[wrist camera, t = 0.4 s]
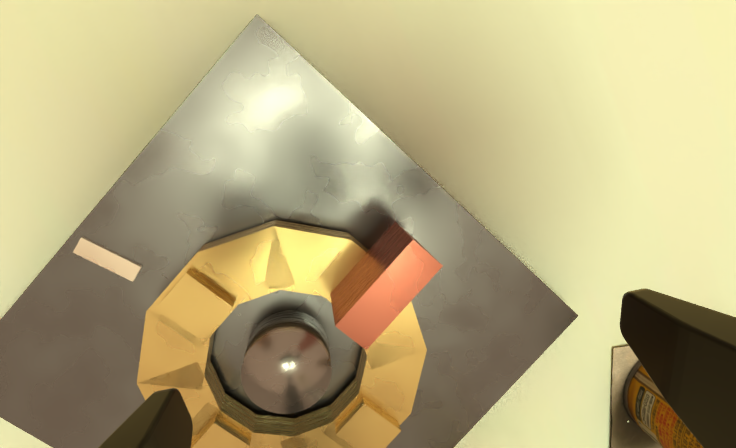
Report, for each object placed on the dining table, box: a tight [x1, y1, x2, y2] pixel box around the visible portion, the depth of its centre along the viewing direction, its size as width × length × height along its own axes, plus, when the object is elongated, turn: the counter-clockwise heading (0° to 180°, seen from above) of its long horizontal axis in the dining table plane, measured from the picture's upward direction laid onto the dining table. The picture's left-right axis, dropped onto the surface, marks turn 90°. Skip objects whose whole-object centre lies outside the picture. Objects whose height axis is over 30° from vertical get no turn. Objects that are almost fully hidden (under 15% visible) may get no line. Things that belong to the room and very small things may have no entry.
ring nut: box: [137, 220, 443, 448], centre depth 20 cm, size 15×13×5 cm
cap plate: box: [0, 14, 578, 448], centre depth 22 cm, size 22×22×4 cm
